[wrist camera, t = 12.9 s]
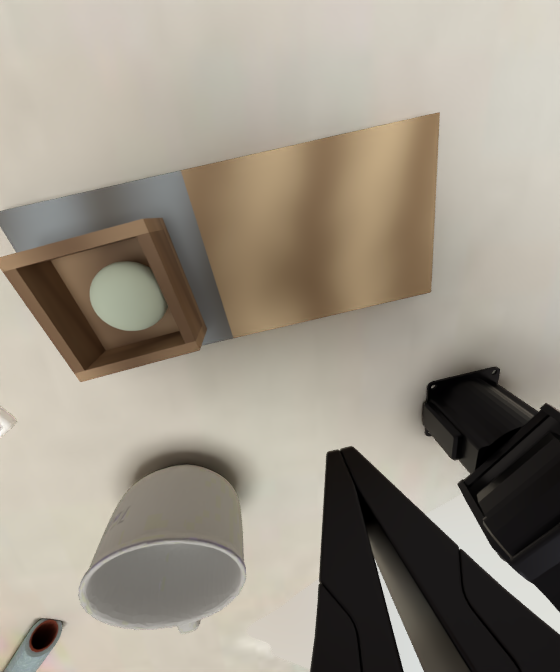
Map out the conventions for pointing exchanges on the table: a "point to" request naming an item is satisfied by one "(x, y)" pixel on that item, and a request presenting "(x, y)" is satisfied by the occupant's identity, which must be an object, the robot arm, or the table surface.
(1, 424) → the soap
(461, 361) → the table surface
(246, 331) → the flat board
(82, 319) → the walnut box
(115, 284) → the sage ball
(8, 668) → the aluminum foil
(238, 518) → the teacup
